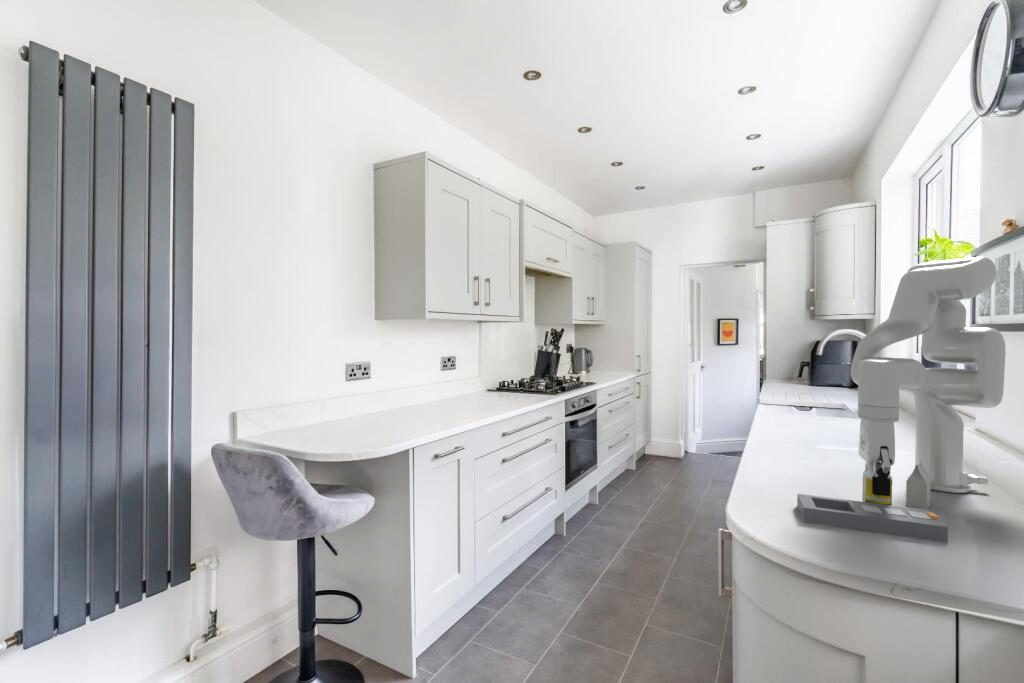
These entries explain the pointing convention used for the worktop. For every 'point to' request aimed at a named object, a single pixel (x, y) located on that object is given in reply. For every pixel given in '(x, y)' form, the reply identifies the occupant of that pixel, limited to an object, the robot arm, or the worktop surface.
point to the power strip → (872, 517)
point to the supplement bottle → (867, 488)
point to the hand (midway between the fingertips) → (877, 490)
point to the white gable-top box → (918, 488)
